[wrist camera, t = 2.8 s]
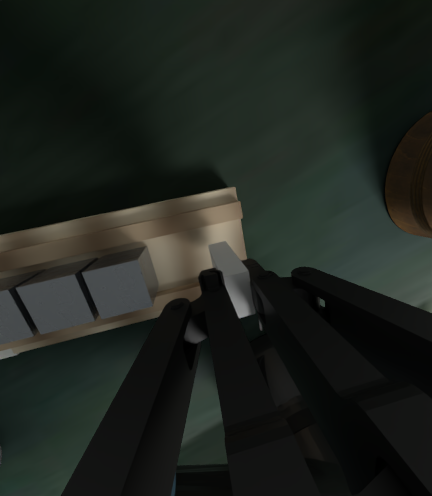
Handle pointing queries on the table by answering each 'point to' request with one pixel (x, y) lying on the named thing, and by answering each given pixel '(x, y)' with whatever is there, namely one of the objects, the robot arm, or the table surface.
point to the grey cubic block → (15, 310)
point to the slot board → (126, 238)
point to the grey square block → (59, 297)
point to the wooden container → (412, 180)
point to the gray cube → (122, 282)
